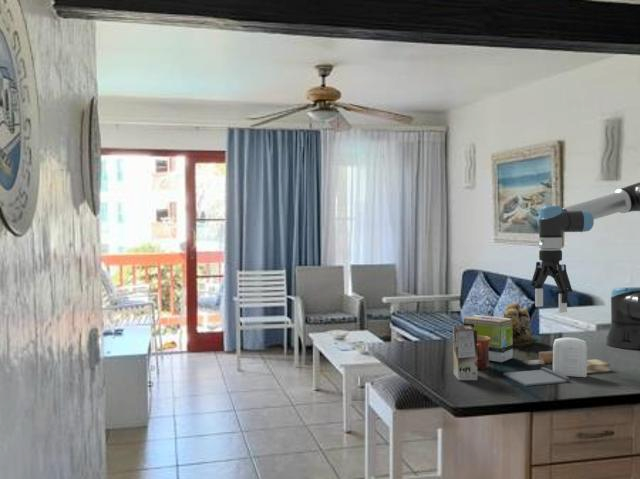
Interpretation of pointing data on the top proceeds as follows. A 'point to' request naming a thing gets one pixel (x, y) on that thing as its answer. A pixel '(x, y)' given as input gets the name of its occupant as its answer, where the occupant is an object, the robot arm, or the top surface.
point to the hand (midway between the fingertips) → (550, 309)
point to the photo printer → (570, 357)
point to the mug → (482, 351)
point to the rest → (597, 366)
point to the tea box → (494, 335)
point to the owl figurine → (519, 325)
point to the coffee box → (465, 352)
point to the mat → (537, 377)
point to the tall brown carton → (541, 358)
